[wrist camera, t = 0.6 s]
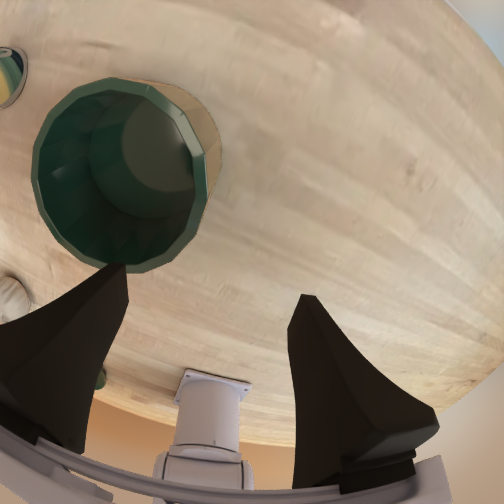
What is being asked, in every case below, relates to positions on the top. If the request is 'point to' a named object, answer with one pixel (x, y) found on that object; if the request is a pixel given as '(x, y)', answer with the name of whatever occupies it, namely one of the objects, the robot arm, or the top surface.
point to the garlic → (12, 300)
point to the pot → (125, 171)
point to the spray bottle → (11, 74)
